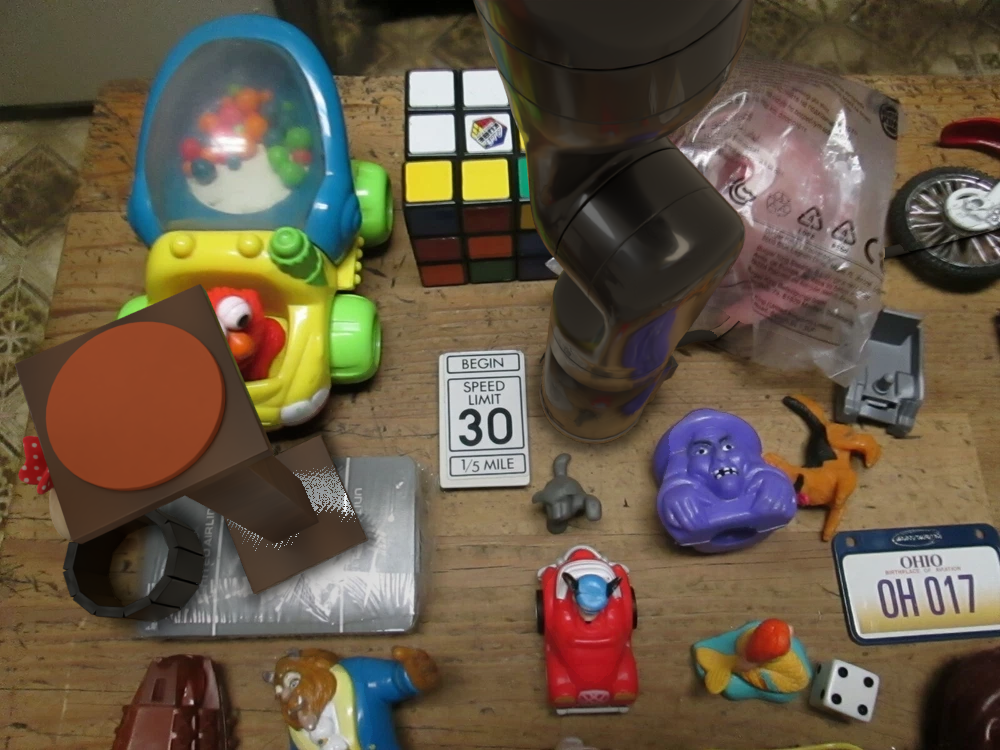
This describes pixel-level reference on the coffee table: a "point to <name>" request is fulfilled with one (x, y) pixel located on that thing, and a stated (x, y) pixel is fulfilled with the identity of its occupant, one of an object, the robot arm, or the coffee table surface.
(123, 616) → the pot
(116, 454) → the disc
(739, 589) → the coffee table surface
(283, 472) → the stand
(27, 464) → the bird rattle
